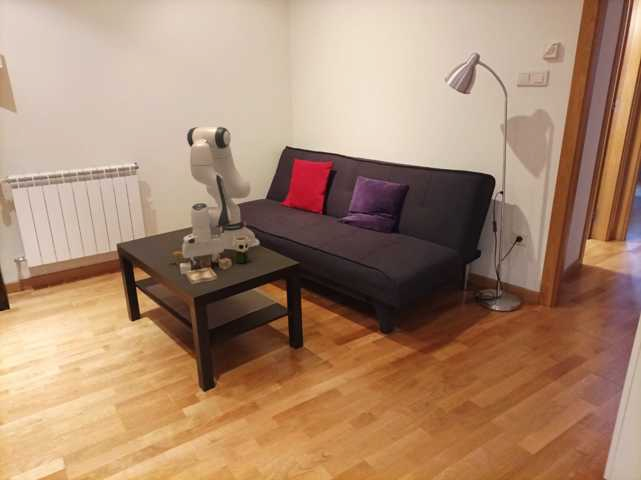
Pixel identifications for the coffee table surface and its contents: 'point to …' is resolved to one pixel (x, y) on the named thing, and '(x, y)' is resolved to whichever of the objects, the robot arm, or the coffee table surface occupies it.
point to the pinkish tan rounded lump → (216, 258)
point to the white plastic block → (185, 267)
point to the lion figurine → (177, 255)
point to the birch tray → (201, 275)
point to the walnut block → (205, 262)
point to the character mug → (241, 248)
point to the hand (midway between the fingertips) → (204, 263)
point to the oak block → (225, 263)
